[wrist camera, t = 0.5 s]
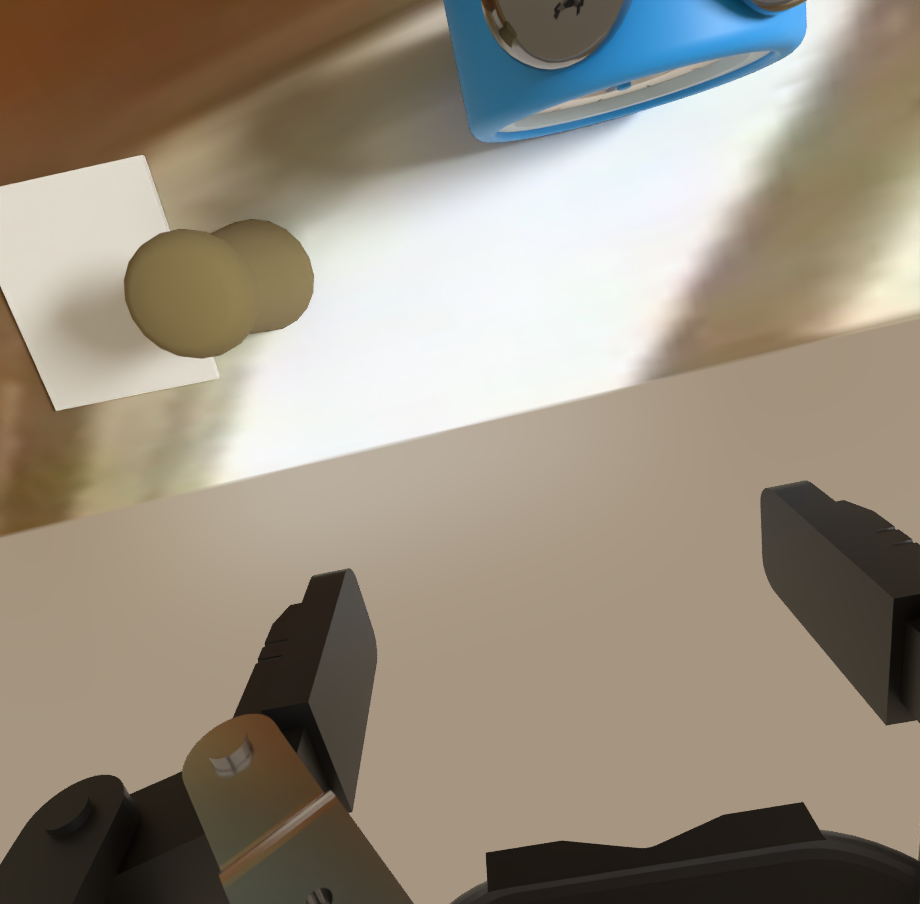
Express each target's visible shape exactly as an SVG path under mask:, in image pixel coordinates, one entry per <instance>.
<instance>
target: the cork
mask: <svg viewBox="0 0 920 904" xmlns="http://www.w3.org/2000/svg"><path fill="white" fill-rule="evenodd" d="M313 282H314V274H313V270H312V267H311V263H310V259H309V257H308V255H307V253H306V252H305V250H304V248H303V247H302V245H301V244H300V242H299V241H298V240H297V239H296V238H295V237H294V236H292V235H291V234H290V233H289V232H288V231H287V230H286V229H284V228H282V227H280V226H278V225H276V224H273V223H271V222H269V221H262V220H254V219H250V220H245V221H240V222H235V223H233V224H231V225H229V226H226V227H224V228H222V229H220V230H218V231H216V232H214V233H212V234H209V233H207V232H202V231H195V230H187V229H178V230H173V231H168V232H163V233H159V234H158V235H156V236H155V237H153V238H152V239H150V240H148V241H147V242H145V243H144V244H142V245H141V246H140V247H139V248H138V250H137V251H136V252H135V254H134V255H133V257H132V258H131V259H130V261H129V262H128V266H127V270H126V274H125V277H124V293H125V301H126V304H127V307H128V309H129V312H130V315H131V317H132V319H133V321H134V322H135V324H136V325H137V326H138V328H139V329H140V330H141V332H142V333H143V335H144V336H145V337H147V338H148V339H149V340H150V341H152V342H153V343H154V344H155V345H157V346H158V347H159V348H161V349H163V350H165V351H168V352H170V353H172V354H175V355H177V356H182V357H190V358H200V359H204V358H209V357H214V356H219V355H222V354H224V353H225V352H227V351H229V350H231V349H232V348H234V347H236V346H237V345H239V344H240V343H242V341H243V340H244V339H245V338H246V336H247V335H248V334H251V333H259V332H267V331H272V330H278V329H283V328H285V327H286V326H288V325H290V324H292V323H293V322H295V321H297V320H298V318H299V317H300V316H301V315H302V314H303V312H304V311H305V310H306V309H307V307H308V305H309V302H310V299H311V297H312V294H313Z"/></svg>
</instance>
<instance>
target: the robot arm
mask: <svg viewBox="0 0 920 904" xmlns="http://www.w3.org/2000/svg"><path fill="white" fill-rule="evenodd" d="M761 528H762V555H763V556H762V557H763V565H764V569H765V573H766V576H767V578H768V581H769V583H770V585H771V587H772V588H773V590H774V591H775V592H776V594H777V595H778V596H779V598H780V599H781V600H782V601H783V602H784V604H785V605H786V606H787V607H788V608H789V609H790V611H791V612H792V613H793V614H794V615H795V617H796V618H797V619H798V620H799V621H800V623H801V624H802V625H803V626H804V627H805V629H806V630H807V631H808V632H809V633H810V635H811V636H812V637H813V638H814V639H815V641H816V642H817V643H818V644H819V645H820V647H821V648H822V649H823V650H824V651H825V652H826V654H827V655H828V656H829V657H830V659H831V660H832V661H833V662H834V663H835V665H836V666H837V667H838V668H839V669H840V671H841V672H842V673H843V674H844V675H845V677H846V678H847V679H848V680H849V681H850V683H851V684H852V685H853V686H854V687H855V689H856V690H857V691H858V692H859V693H860V695H861V696H862V697H863V698H864V699H865V701H866V702H867V703H868V704H869V705H870V707H871V708H872V709H873V710H874V711H875V713H876V714H877V715H878V716H879V717H880V719H881V720H882V721H883V722H884V723H885V725H891V724H897V723H903V722H909V721H915V720H918V722H919V723H920V545H919V544H918V543H913V542H912V539H911V538H909V537H908V536H907V535H906V534H904V533H903V532H901V531H900V530H895V527H894V526H893V525H892V524H890V523H889V522H888V521H886V520H885V519H884V518H882V517H881V516H879V515H878V514H877V513H875V512H874V511H872V510H869V509H866V508H863V507H861V506H858V505H856V504H853V503H850V502H847V501H845V500H842V501H837V502H835V501H834V500H833V499H831V498H830V497H829V496H828V495H826V494H825V493H824V492H823V491H821V490H820V489H819V488H817V487H816V486H815V485H813V484H812V483H811V482H808V481H800V482H795V483H790V484H785V485H780V486H775V487H770V488H765V489H764V490H763V492H762V494H761ZM376 664H377V648H376V640H375V635H374V631H373V628H372V625H371V622H370V619H369V616H368V612H367V610H366V607H365V603H364V601H363V597H362V594H361V591H360V588H359V585H358V582H357V579H356V577H355V575H354V572H353V571H352V570H351V569H349V568H348V569H343V570H338V571H333V572H328V573H323V574H318V575H314V576H312V577H311V580H310V582H309V585H308V587H307V590H306V593H305V595H304V599H303V601H302V603H299V604H294V605H290V606H289V607H288V608H287V609H286V610H285V611H284V612H283V614H282V615H281V616H280V617H279V618H278V619H277V620H276V621H275V622H274V623H273V625H272V627H271V630H270V632H269V634H268V637H267V639H266V641H265V647H263V648H262V651H261V653H260V655H259V658H258V663H257V664H256V665H255V667H254V669H253V672H252V674H251V676H250V679H249V681H248V684H247V686H246V688H245V691H244V693H243V695H242V698H241V700H240V702H239V705H238V707H237V709H236V712H235V714H234V717H233V718H232V719H230V720H227V721H225V722H223V723H222V724H220V725H218V726H216V727H215V728H214V729H212V730H211V731H209V732H208V733H207V734H206V735H205V736H203V737H202V738H201V739H200V740H199V741H198V742H197V743H196V745H195V746H194V747H193V748H192V750H191V751H190V753H189V755H188V756H187V758H186V760H185V763H184V765H183V769H182V772H179V773H177V774H175V775H173V776H171V777H168V778H166V779H164V780H162V781H159V782H157V783H155V784H152V785H150V786H148V787H146V788H143V789H141V790H139V791H136V792H134V793H132V794H129V793H128V792H127V790H126V788H125V787H124V785H123V783H122V782H121V780H120V779H119V778H117V777H115V776H112V775H98V776H93V777H90V778H86V779H84V780H82V781H79V782H77V783H75V784H73V785H71V786H69V787H68V788H66V789H64V790H63V791H61V792H60V793H58V794H57V795H55V796H54V797H53V798H52V799H50V800H49V801H48V802H47V803H45V804H44V805H43V806H42V807H41V808H40V809H39V810H38V811H37V812H36V813H35V814H34V815H33V816H32V818H31V819H30V820H29V821H28V822H27V824H26V825H25V827H24V828H23V830H22V831H21V833H20V834H19V836H18V837H17V839H16V841H15V842H14V844H13V845H12V847H11V848H10V850H9V852H8V853H7V855H6V856H5V858H4V859H3V861H2V863H1V864H0V904H414V903H413V902H412V900H411V899H410V898H409V896H408V895H407V893H406V892H405V891H404V889H403V888H402V886H401V885H400V884H399V882H398V881H397V880H396V878H395V877H394V875H393V874H392V873H391V871H390V870H389V869H388V867H387V866H386V864H385V863H384V862H383V860H382V859H381V858H380V856H379V855H378V853H377V852H376V851H375V849H374V848H373V846H372V845H371V844H370V842H369V841H368V840H367V838H366V837H365V835H364V834H363V833H362V831H361V830H360V828H359V827H358V826H357V824H356V823H355V821H354V820H353V819H352V817H351V816H350V815H349V813H350V812H352V810H353V805H354V799H355V792H356V786H357V780H358V774H359V768H360V762H361V755H362V750H363V744H364V738H365V731H366V725H367V719H368V713H369V707H370V700H371V695H372V689H373V682H374V676H375V670H376ZM486 866H487V881H486V882H484V883H482V884H480V885H477V886H475V887H474V888H472V889H470V890H469V891H467V892H466V893H464V894H462V895H461V896H459V897H458V898H457V899H455V900H454V901H453V902H452V903H450V904H920V819H919V832H918V847H917V859H914V858H912V857H910V856H908V855H906V854H904V853H902V852H899V851H897V850H894V849H892V848H889V847H887V846H884V845H882V844H879V843H877V842H873V841H870V840H866V839H863V838H860V837H856V836H853V835H848V834H842V833H838V832H833V831H825V830H819V828H818V826H817V825H816V823H815V821H814V820H813V818H812V816H811V815H810V813H809V811H808V809H807V808H806V806H805V804H804V803H803V802H801V803H795V804H788V805H782V806H776V807H770V808H764V809H757V810H751V811H745V812H738V813H732V814H726V815H722V816H720V817H718V818H715V819H713V820H711V821H709V822H707V823H704V824H703V825H700V826H698V827H696V828H693V829H691V830H689V831H687V832H685V833H682V834H680V835H678V836H676V837H674V838H671V839H669V840H667V841H665V842H663V843H660V844H658V845H656V846H653V847H649V848H632V847H621V846H611V845H601V844H590V843H580V842H570V841H557V842H550V843H544V844H538V845H532V846H525V847H519V848H513V849H506V850H500V851H495V852H488V853H486Z"/></svg>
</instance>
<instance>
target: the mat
mask: <svg viewBox="0 0 920 904" xmlns="http://www.w3.org/2000/svg"><path fill="white" fill-rule="evenodd" d="M168 231H170V229H169V226H168V223H167V220H166V217H165V214H164V211H163V208H162V205H161V202H160V199H159V197H158V194H157V191H156V188H155V185H154V182H153V179H152V176H151V173H150V170H149V167H148V164H147V161H146V159H145V156H142V155H140V156H135V157H131V158H126V159H122V160H118V161H113V162H109V163H104V164H100V165H95V166H91V167H86V168H82V169H77V170H73V171H68V172H64V173H59V174H55V175H50V176H46V177H42V178H37V179H33V180H28V181H24V182H19V183H15V184H10V185H6V186H1V187H0V286H1V289H2V291H3V293H4V295H5V298H6V300H7V302H8V304H9V307H10V309H11V311H12V313H13V316H14V318H15V320H16V322H17V324H18V327H19V329H20V331H21V333H22V336H23V338H24V340H25V342H26V345H27V347H28V349H29V351H30V354H31V356H32V358H33V360H34V362H35V365H36V367H37V369H38V371H39V374H40V376H41V378H42V380H43V383H44V385H45V387H46V389H47V392H48V394H49V396H50V398H51V401H52V403H53V405H54V407H55V409H56V411H58V410H63V409H68V408H73V407H78V406H83V405H88V404H93V403H98V402H103V401H108V400H113V399H118V398H123V397H128V396H133V395H138V394H143V393H148V392H153V391H158V390H163V389H168V388H173V387H178V386H183V385H188V384H193V383H198V382H203V381H208V380H213V379H218V378H219V377H220V375H219V372H218V369H217V366H216V363H215V360H214V357H209V358H204V359H200V358H190V357H182V356H177V355H175V354H172V353H170V352H168V351H165V350H163V349H161V348H159V347H158V346H157V345H155V344H154V343H153V342H152V341H150V340H149V339H148V338H147V337H145V336H144V335H143V333H142V332H141V330H140V329H139V328H138V326H137V325H136V324H135V322H134V321H133V319H132V317H131V315H130V312H129V309H128V307H127V304H126V301H125V293H124V277H125V274H126V270H127V266H128V262H129V261H130V259H131V258H132V257H133V255H134V254H135V252H136V251H137V250H138V248H139V247H140V246H141V245H142V244H144V243H145V242H147V241H148V240H150V239H152V238H153V237H155V236H156V235H158V234H159V233H163V232H168Z"/></svg>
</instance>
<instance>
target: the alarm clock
mask: <svg viewBox="0 0 920 904" xmlns="http://www.w3.org/2000/svg"><path fill="white" fill-rule="evenodd" d="M443 2H444V6H445V11H446V16H447V21H448V26H449V31H450V36H451V41H452V46H453V51H454V55H455V60H456V65H457V70H458V75H459V80H460V85H461V90H462V95H463V100H464V104H465V109H466V114H467V119H468V124H469V129H470V131H471V134H472V135H473V136H474V137H475V138H476V139H477V140H480V141H482V142H487V143H496V142H509V141H516V140H523V139H529V138H534V137H540V136H545V135H549V134H554V133H559V132H563V131H567V130H572V129H576V128H580V127H584V126H588V125H592V124H596V123H600V122H603V121H607V120H611V119H615V118H618V117H622V116H625V115H629V114H633V113H636V112H639V111H643V110H646V109H650V108H653V107H656V106H659V105H663V104H666V103H669V102H672V101H675V100H679V99H682V98H685V97H688V96H691V95H694V94H697V93H700V92H703V91H706V90H708V89H711V88H714V87H717V86H720V85H722V84H725V83H728V82H730V81H733V80H736V79H738V78H741V77H743V76H746V75H748V74H751V73H753V72H755V71H758V70H760V69H762V68H764V67H767V66H769V65H771V64H773V63H775V62H777V61H779V60H781V59H783V58H784V57H786V56H788V55H789V54H790V53H792V52H793V51H794V50H795V49H796V48H797V47H798V46H799V45H800V44H801V42H802V40H803V38H804V36H805V33H806V26H807V25H806V0H443Z"/></svg>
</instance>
